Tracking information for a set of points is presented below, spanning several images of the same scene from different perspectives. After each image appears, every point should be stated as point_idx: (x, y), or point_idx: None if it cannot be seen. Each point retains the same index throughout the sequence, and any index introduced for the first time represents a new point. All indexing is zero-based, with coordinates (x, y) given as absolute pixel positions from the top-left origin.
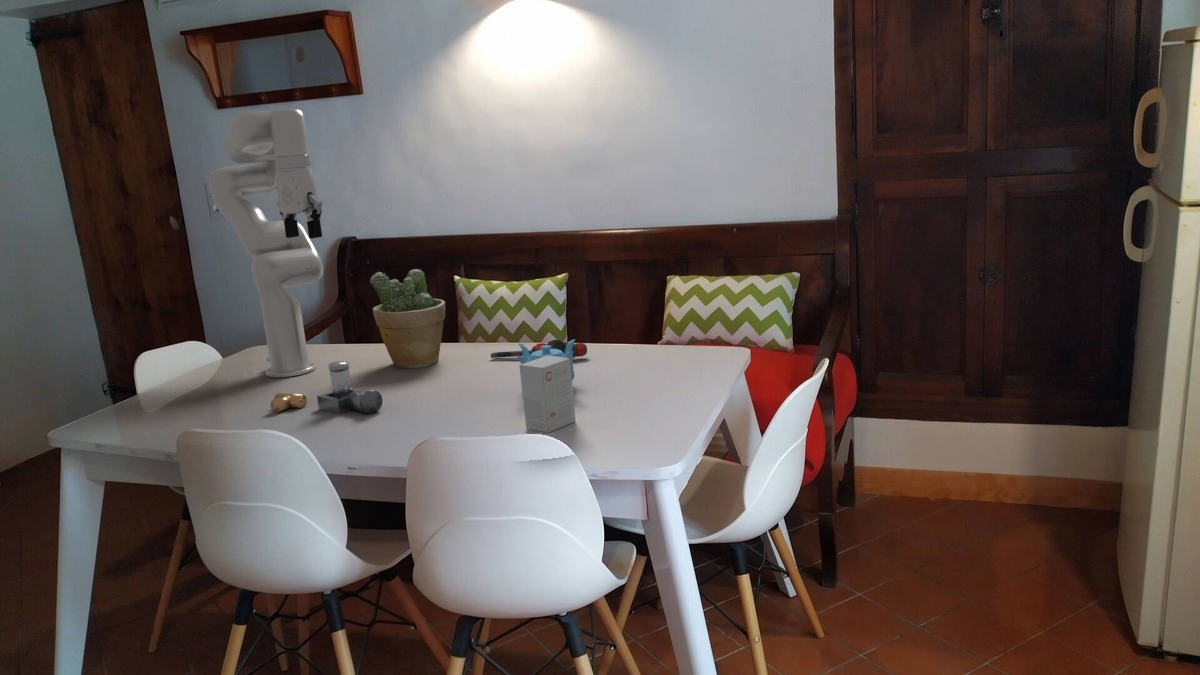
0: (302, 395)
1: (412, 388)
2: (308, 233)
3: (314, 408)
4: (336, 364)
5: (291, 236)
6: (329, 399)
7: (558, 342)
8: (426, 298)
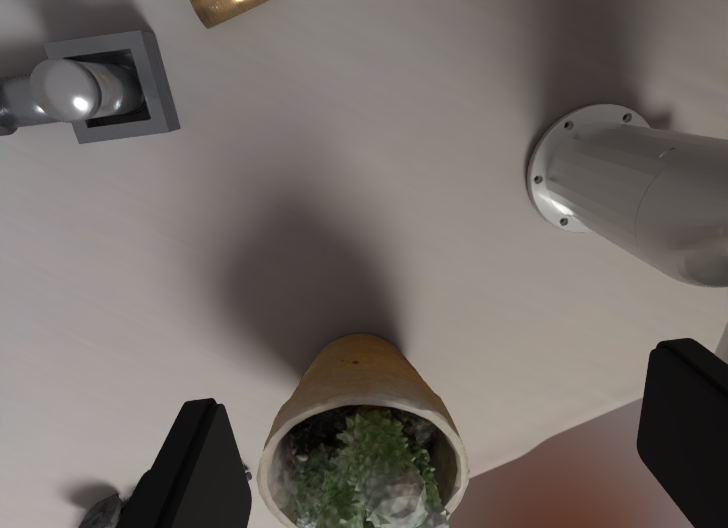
0: (196, 12)
1: (156, 265)
2: (193, 432)
3: (172, 29)
4: (44, 78)
5: (648, 382)
6: (83, 38)
7: None
8: (297, 517)
